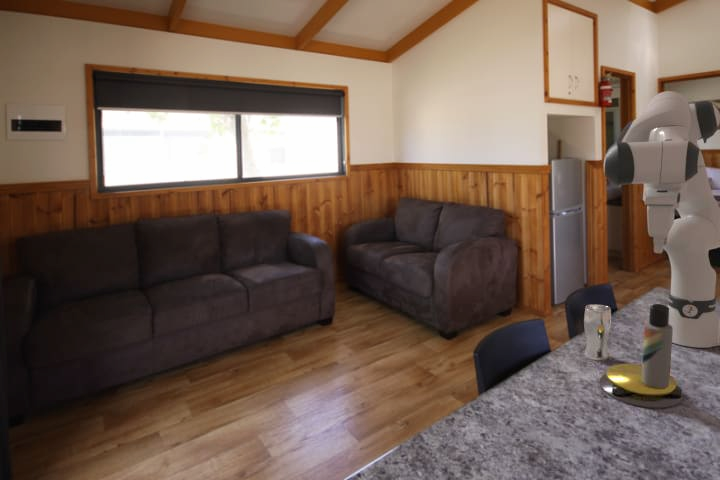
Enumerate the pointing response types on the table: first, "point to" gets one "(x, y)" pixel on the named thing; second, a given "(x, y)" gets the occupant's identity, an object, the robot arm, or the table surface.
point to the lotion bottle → (657, 348)
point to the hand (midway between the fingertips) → (660, 248)
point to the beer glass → (597, 331)
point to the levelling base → (641, 398)
